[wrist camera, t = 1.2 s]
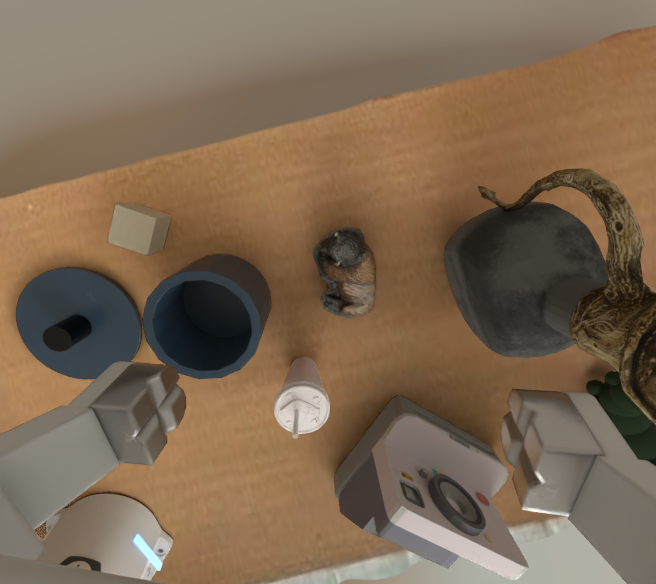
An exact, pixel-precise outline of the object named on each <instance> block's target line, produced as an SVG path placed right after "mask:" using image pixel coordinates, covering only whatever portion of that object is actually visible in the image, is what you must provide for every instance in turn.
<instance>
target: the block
mask: <svg viewBox="0 0 656 584" xmlns="http://www.w3.org/2000/svg"><path fill="white" fill-rule="evenodd" d="M170 220H171V215H169V214H166V213H163V212H160V211H157V210H154V209H152V208H149V207H146V206H143V205H140V204H137V203H125V204H115V209H114V214H113V219H112V223H111V228H110V233H109V238H108V243H111V244H114V245H117V246H120V247H123V248H126V249H129V250H132V251H135V252H138V253H141V254H144V255H147V256H148V255H150V254H153V253H155V252H158V251H160V250H163V248H164V244H165V240H166V236H167V232H168V228H169V224H170Z"/></svg>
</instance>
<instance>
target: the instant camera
mask: <svg viewBox="0 0 656 584" xmlns="http://www.w3.org/2000/svg"><path fill="white" fill-rule="evenodd" d="M508 474H509V472H508V470H507V469H506V468H505V466H504V465H503V463H502V462H501V461H500V459H499V458H498V456H497V455H496V453H495V452H494V451H493V449H492V448H491V447H490V446H489V445H487V444H485V443H484V442H482V441H480V440H478V439H477V438H475V437H473V436H471V435H469V434H468V433H466V432H464V431H462V430H460V429H459V428H457V427H455V426H453V425H452V424H450V423H448V422H446V421H444V420H443V419H441V418H439V417H437V416H436V415H434V414H432V413H430V412H428V411H427V410H425V409H423V408H421V407H419V406H418V405H416V404H414V403H412V402H411V401H409V400H407V399H405V398H403V397H400V396H398V395H397V396H396V397H394V398H392V399H391V400H390V401H389V403H388V404H387V405H386V407H385V408H384V409H383V411H382V412H381V413H380V415H379V416H378V417H377V418H376V420H375V421H374V422H373V424H372V425H371V426H370V428H369V429H368V430H367V432H366V433H365V434H364V436H363V437H362V438H361V439H360V441H359V442H358V443H357V445H356V446H355V447H354V449H353V450H352V451H351V453H350V454H349V455H348V456H347V458H346V459H345V460H344V462H343V463H342V464H341V466H340V467H339V468H338V470H337V472H336V474H335V476H334V483H335V496H336V497H337V498H338V499H339V506H340V512H341V513H342V514H343V515H344V516H345V517H347V518H348V519H349V520H351V521H352V522H353V523H355V524H356V525H357V526H359V527H360V528H361V529H363V530H365V531H367V532H369V533H371V534H374V535H376V536H378V537H380V538H382V539H385V540H387V541H389V542H391V543H393V544H396V545H398V546H400V547H402V548H404V549H406V550H409V551H411V552H413V553H415V554H417V555H419V556H422V557H424V558H426V559H428V560H430V561H432V562H435V563H437V564H439V565H441V566H444V567H446V568H449V567H450V566H451V565H452V564H453V562H455V561H456V560H457V558H458V557H459V556H462V557H464V558H466V559H468V560H470V561H472V562H474V563H476V564H478V565H480V566H483V567H485V568H487V569H489V570H491V571H493V572H495V573H497V574H500V575H501V576H504V577H506V578H508V579H510V580H512V581H516V580H517V579H518V578H519V577H520V576H521V575H522V574H523V573H524V572H525V571H526V570H527V569H528V568H529V566H528V564H527V561H526V560H525V558H524V556H523V555H522V553H521V551H520V550H519V548H518V546H517V544H516V542H515V541H514V539H513V537H512V535H511V534H510V532H509V530H508V529H507V527H506V525H505V523H504V522H503V520H502V518H501V516H500V515H499V513H498V511H497V509H496V508H495V506H494V504H493V502H492V501H491V498H492V496H493V495H494V494H495V493H496V492H497V491H498V490H499V489H500V488H501V487H502V486H503V485H504V483H505V482H506V480H507V477H508Z"/></svg>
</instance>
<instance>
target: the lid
mask: <svg viewBox="0 0 656 584" xmlns="http://www.w3.org/2000/svg"><path fill="white" fill-rule="evenodd" d="M16 322H17V327H18V330H19V333H20V336H21V338H22V340H23V342H24V344H25V345H26V346H27V348H28V349H29V351H30V352H31V353H32V354H33V355H34V356H35V357H36V358H37V359H38V360H39V361H40V362H42V363H43V364H44V365H46V366H47V367H49V368H50V369H52V370H54V371H56V372H58V373H60V374H63V375H66V376H69V377H73V378H78V379H97V378H98V377H99V376H100V375H101V374H102V373H103V372H104V371H105V370H106V369H107V368H108V367H109V366H110V365H112V364H113V363H115V362H119V361H125V362H130V361H131V360H132V359H133V358H134V356H135V355H136V353H137V351H138V349H139V347H140V344H141V339H142V323H141V319H140V315H139V312H138V310H137V308H136V306H135V304H134V302H133V301H132V299H131V298H130V297H129V295H128V294H127V293H126V292H125V291H124V290H123V289H122V288H121V287H120V286H119V285H118V284H116V283H115V282H114V281H112V280H111V279H109V278H108V277H106V276H104V275H102V274H99V273H97V272H94V271H91V270H87V269H83V268H73V267H67V268H59V269H55V270H51V271H48V272H45V273H43V274H41V275H39V276H37V277H36V278H34V279H33V280H32V281H31V282H29V283H28V285H27V286H26V287H25V288H24V290H23V291H22V293H21V295H20V297H19V299H18V303H17V307H16Z"/></svg>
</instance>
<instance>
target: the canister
mask: <svg viewBox="0 0 656 584" xmlns="http://www.w3.org/2000/svg"><path fill="white" fill-rule="evenodd" d="M270 309H271V296H270V291H269V288H268V285H267V283H266V281H265V279H264V277H263V276H262V275H261V273H260V272H259V271H258V270H257V269H256V268H255V267H254V266H253V265H251V264H250V263H249V262H247V261H245V260H243V259H241V258H238V257H235V256H232V255H226V254H216V255H208V256H205V257H203V258H201V259H199V260H197V261H195V262H193V263H191V264H189V265H188V266H186V267H184V268H183V269H181V270H179V271H178V272H176V273H174V274H173V275H171V276H169V277H168V278H166V279H165V280H163V281H162V282H160V284H159V285H158V286H157V287H156V288H155V290H154V291H153V292H152V293H151V294H150V296H149V297H148V299H147V302H146V306H145V310H144V314H143V318H142V321H143V326H144V331H145V336H146V340H147V342H148V344H149V345H150V347H151V348H152V350H153V351H154V353H155V354H156V356H157V357H158V359H159V360H160V361H162V362H163V363H164V364H166V365H170V366H173V367H175V368H176V370H177V372H178V373H180V374H183V375H187V376H190V377H194V378H197V379H208V378H222V377H224V376H227V375H229V374H231V373H233V372H236V371H238V370H240V369H241V368H242V367H243V366H244V365H245V364H246V363H247V362H248V361H249V360H250V359H251V358H252V357H253V356H254V355H255V352H256V350H257V347H258V344H259V341H260V338H261V335H262V332H263V330H264V327H265V324H266V321H267V318H268V315H269V312H270Z"/></svg>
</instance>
